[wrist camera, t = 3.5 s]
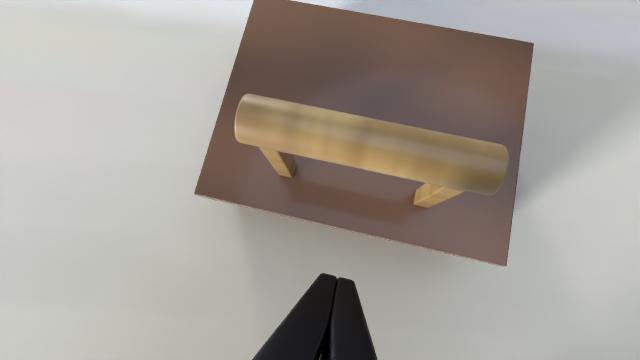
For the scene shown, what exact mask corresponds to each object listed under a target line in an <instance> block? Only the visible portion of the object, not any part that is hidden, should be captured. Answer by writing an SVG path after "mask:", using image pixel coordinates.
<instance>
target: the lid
mask: <svg viewBox="0 0 640 360" xmlns="http://www.w3.org/2000/svg"><path fill="white" fill-rule="evenodd" d="M533 46H534V43H530V42H524V41H518V40H513V39H507V38H501V37H496V36H490V35H484V34H478V33H473V32H467V31H461V30H456V29H450V28H444V27H439V26H433V25H427V24H422V23H416V22H410V21H405V20H399V19H393V18H387V17H382V16H376V15H370V14H365V13H359V12H353V11H348V10H342V9H336V8H331V7H325V6H319V5H314V4H308V3H302V2H297V1H291V0H254V1H253V5H252V8H251V11H250V14H249V18H248V21H247V24H246V27H245V30H244V34H243V37H242V40H241V43H240V47H239V50H238V53H237V56H236V60H235V63H234V66H233V69H232V73H231V76H230V79H229V82H228V86H227V89H226V92H225V95H224V99H223V102H222V105H221V108H220V112H219V115H218V118H217V121H216V125H215V128H214V131H213V134H212V137H211V141H210V144H209V147H208V150H207V154H206V157H205V160H204V163H203V167H202V170H201V173H200V176H199V180H198V183H197V186H196V189H195V193H194V194H195V195H198V196H200V197H204V198H208V199H213V200H217V201H221V202H226V203H230V204H234V205H238V206H243V207H247V208H251V209H256V210H260V211H264V212H269V213H273V214H277V215H282V216H286V217H290V218H295V219H299V220H303V221H307V222H312V223H316V224H320V225H325V226H329V227H333V228H338V229H342V230H346V231H351V232H355V233H359V234H364V235H368V236H372V237H376V238H381V239H385V240H389V241H394V242H398V243H402V244H407V245H411V246H415V247H420V248H424V249H428V250H433V251H437V252H441V253H445V254H450V255H454V256H458V257H463V258H467V259H471V260H476V261H480V262H484V263H489V264H493V265H498V266H506V265H507V257H508V249H509V240H510V232H511V224H512V216H513V208H514V200H515V192H516V184H517V176H518V167H519V159H520V151H521V143H522V135H523V127H524V119H525V111H526V102H527V94H528V86H529V78H530V70H531V62H532V54H533Z"/></svg>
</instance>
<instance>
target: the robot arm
mask: <svg viewBox="0 0 640 360" xmlns="http://www.w3.org/2000/svg"><path fill="white" fill-rule="evenodd" d="M319 359H320V360H377V356H376V353H375V349H374V346H373V343H372V339H371V336H370V333H369V329H368V326H367V323H366V319H365V316H364V313H363V309H362V306H361V303H360V299H359V296H358V293H357V289H356V286H355V283H354V281H352V280H349V279H345V278H341V277H340V278H338V279H337V278H336V276H333V275H329V274H325V273H322V274H320V275H319V276H318V278H317V279H316V280H315V281H314V283H313V284H312V285H311V286H310V288H309V289H308V290H307V291H306V293H305V294H304V295H303V296H302V298H301V299H300V300H299V301H298V303H297V304H296V305H295V306H294V308H293V309H292V310H291V311H290V313H289V314H288V315H287V317H286V318H285V319H284V320H283V322H282V323H281V324H280V325H279V327H278V328H277V329H276V330H275V332H274V333H273V334H272V335H271V337H270V338H269V339H268V340H267V342H266V343H265V344H264V345H263V347H262V348H261V349H260V350H259V352H258V353H257V354H256V355H255V357H254V358H253V359H252V360H319Z"/></svg>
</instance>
